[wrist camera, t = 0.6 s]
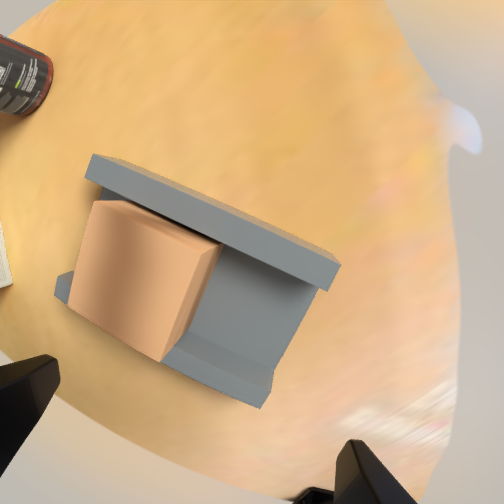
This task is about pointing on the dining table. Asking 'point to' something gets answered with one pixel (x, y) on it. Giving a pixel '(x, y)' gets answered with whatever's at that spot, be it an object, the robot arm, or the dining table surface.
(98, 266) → the block
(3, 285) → the small box
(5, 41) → the supplement bottle
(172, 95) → the dining table surface
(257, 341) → the chute
